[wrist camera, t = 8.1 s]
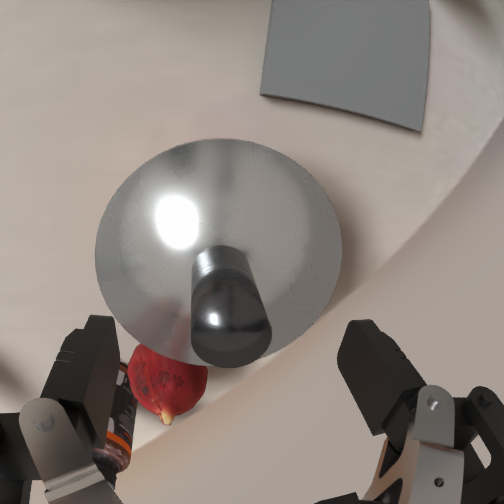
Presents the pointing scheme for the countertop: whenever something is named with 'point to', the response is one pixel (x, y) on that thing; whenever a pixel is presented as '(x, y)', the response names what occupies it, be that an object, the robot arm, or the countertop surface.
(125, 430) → the supplement bottle
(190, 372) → the onion
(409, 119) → the mat
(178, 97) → the countertop surface
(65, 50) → the countertop surface
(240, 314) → the lid
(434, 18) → the countertop surface
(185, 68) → the countertop surface
